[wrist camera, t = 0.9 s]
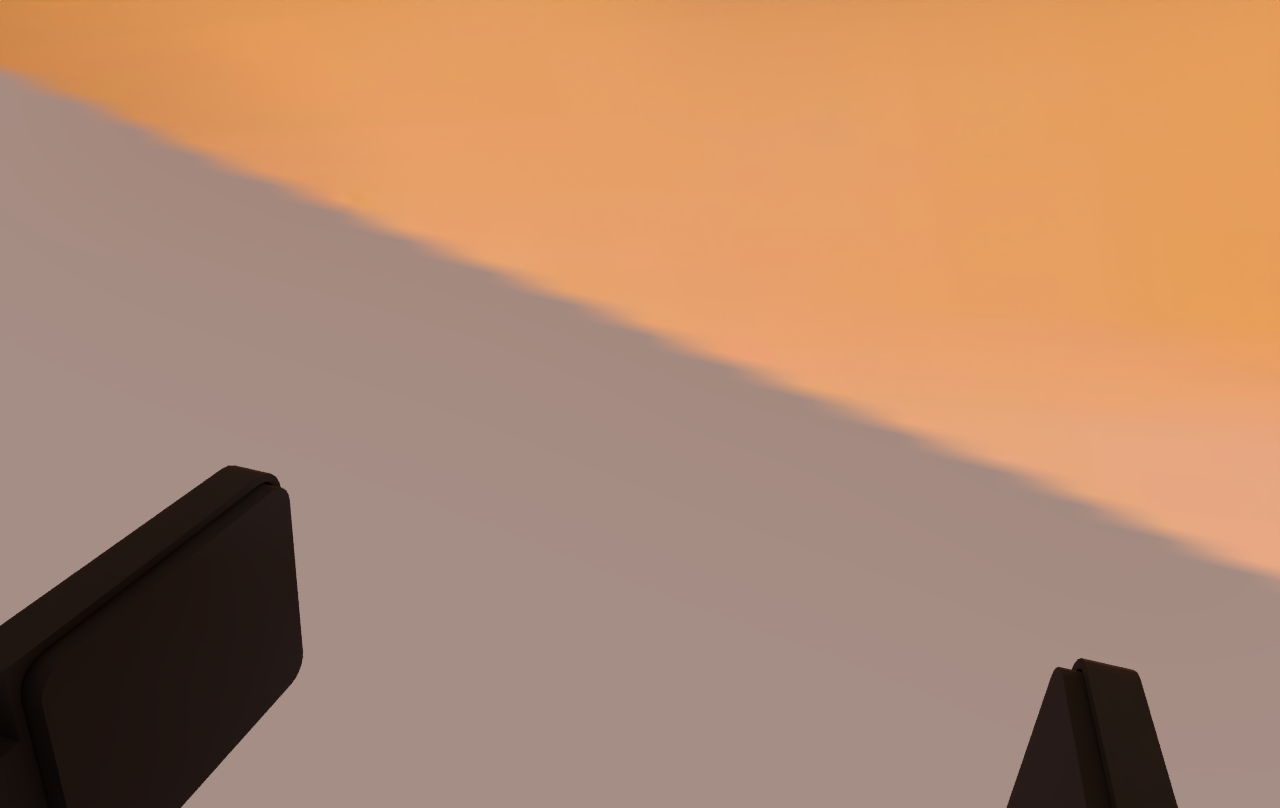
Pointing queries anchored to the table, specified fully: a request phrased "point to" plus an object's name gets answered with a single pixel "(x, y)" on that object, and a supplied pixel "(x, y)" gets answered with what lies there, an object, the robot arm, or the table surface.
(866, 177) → the table surface
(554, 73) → the table surface
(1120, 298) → the table surface
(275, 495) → the robot arm
